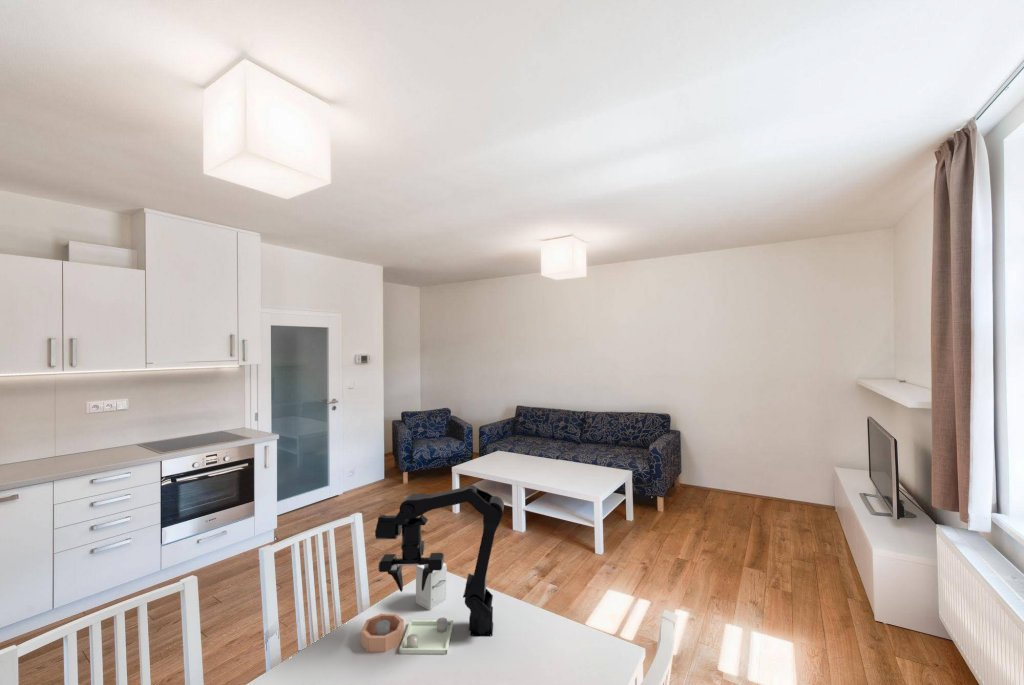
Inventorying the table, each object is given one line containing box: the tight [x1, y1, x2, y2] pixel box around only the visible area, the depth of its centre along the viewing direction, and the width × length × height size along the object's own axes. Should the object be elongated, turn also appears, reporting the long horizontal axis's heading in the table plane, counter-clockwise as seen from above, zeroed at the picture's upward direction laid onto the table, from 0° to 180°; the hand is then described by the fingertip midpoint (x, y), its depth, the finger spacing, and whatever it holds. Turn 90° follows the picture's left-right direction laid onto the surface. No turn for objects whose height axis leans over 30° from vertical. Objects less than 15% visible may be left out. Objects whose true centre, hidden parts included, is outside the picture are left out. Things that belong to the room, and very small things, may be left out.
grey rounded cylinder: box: [376, 620, 390, 636], centre depth 124 cm, size 4×4×4 cm
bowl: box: [360, 613, 405, 653], centre depth 124 cm, size 11×11×4 cm
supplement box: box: [415, 562, 448, 611], centre depth 142 cm, size 7×7×13 cm
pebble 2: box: [436, 617, 448, 633], centre depth 128 cm, size 3×3×3 cm
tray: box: [398, 619, 454, 655], centre depth 124 cm, size 13×13×2 cm
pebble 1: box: [407, 634, 418, 648], centre depth 120 cm, size 3×3×3 cm
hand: (412, 590), depth 129 cm, fingers open, 6 cm apart
